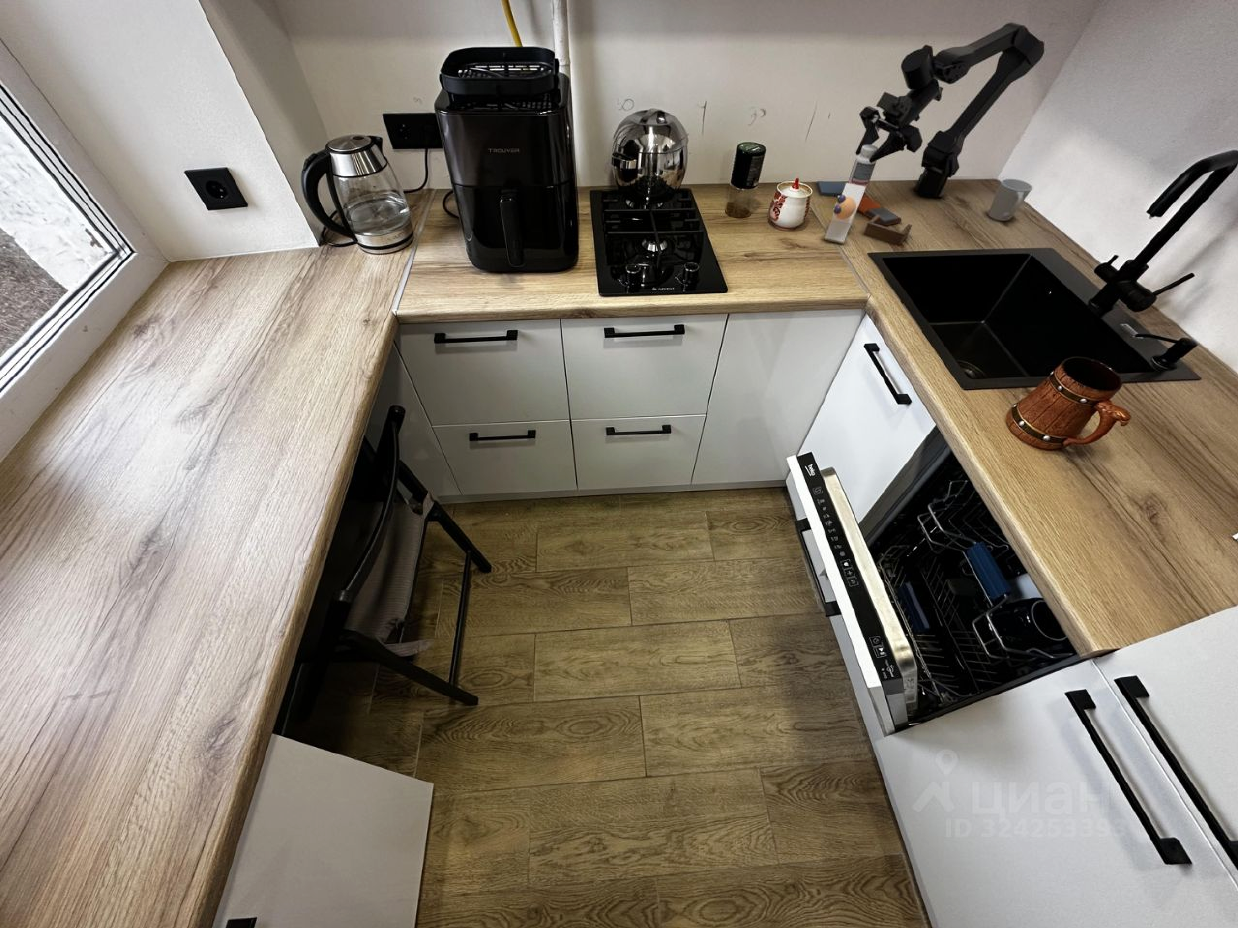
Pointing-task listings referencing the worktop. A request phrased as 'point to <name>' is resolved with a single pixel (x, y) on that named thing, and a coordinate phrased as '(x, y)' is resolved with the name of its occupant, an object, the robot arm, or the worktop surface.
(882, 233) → the brown wooden tray
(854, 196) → the white dotted panel
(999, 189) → the cup
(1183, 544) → the worktop surface
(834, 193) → the seat mat
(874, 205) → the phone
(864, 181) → the pill bottle
